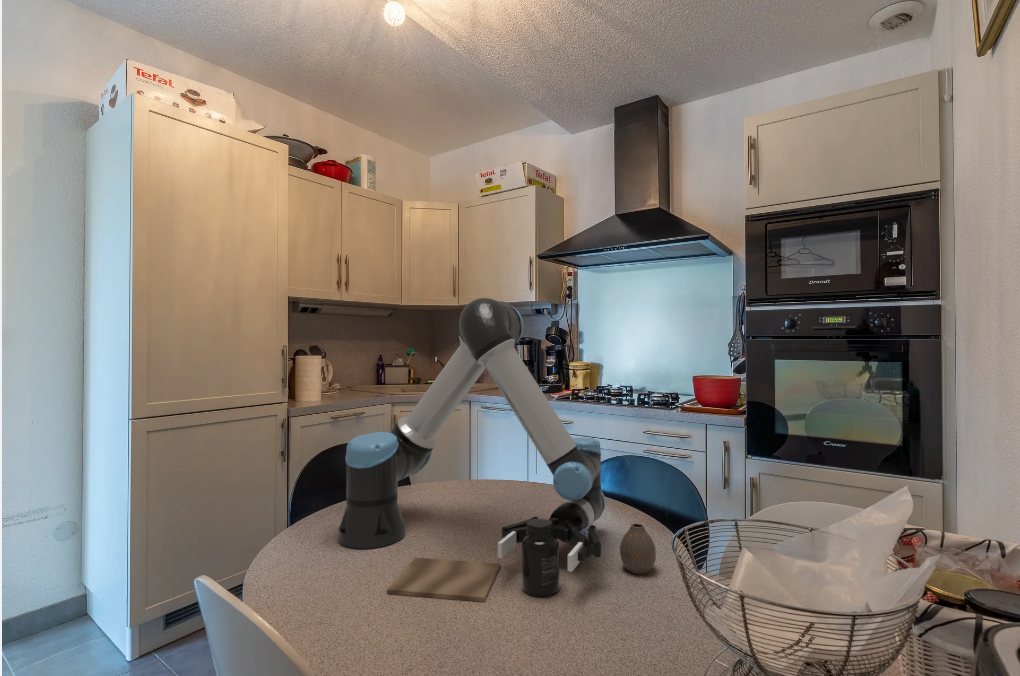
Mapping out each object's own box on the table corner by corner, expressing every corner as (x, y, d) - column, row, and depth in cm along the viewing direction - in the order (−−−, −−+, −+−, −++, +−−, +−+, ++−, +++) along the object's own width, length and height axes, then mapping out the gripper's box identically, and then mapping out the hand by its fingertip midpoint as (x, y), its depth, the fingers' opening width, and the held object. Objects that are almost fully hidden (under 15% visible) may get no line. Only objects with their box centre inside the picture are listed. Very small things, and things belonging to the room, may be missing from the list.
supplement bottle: (559, 580, 96) (559, 516, 96) (559, 598, 89) (558, 529, 89) (523, 579, 96) (522, 516, 97) (520, 597, 90) (519, 528, 90)
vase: (657, 579, 96) (657, 532, 96) (620, 576, 97) (619, 530, 98) (654, 564, 103) (654, 520, 103) (619, 561, 104) (619, 518, 104)
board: (386, 593, 91) (386, 589, 91) (415, 561, 105) (415, 557, 105) (484, 602, 88) (484, 597, 88) (500, 567, 102) (500, 563, 102)
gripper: (629, 546, 104) (602, 592, 84) (519, 528, 114) (472, 565, 95) (629, 509, 104) (602, 546, 85) (519, 495, 114) (472, 525, 95)
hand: (533, 556), depth 90 cm, fingers open, 13 cm apart
